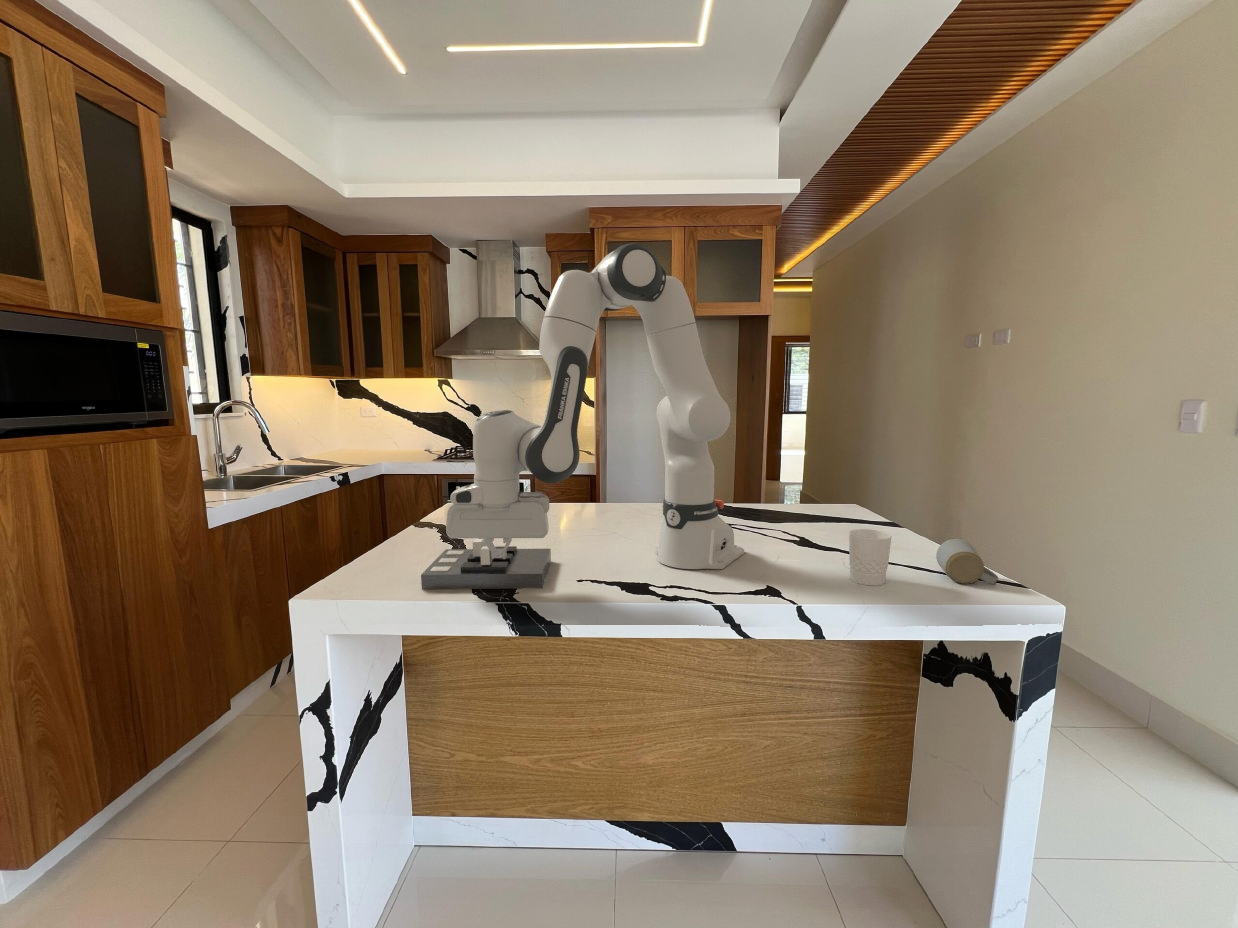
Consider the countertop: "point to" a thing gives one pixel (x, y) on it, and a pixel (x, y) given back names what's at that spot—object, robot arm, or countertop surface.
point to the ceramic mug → (963, 562)
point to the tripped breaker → (485, 556)
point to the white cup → (869, 556)
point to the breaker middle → (477, 547)
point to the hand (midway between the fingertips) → (499, 558)
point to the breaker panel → (488, 570)
